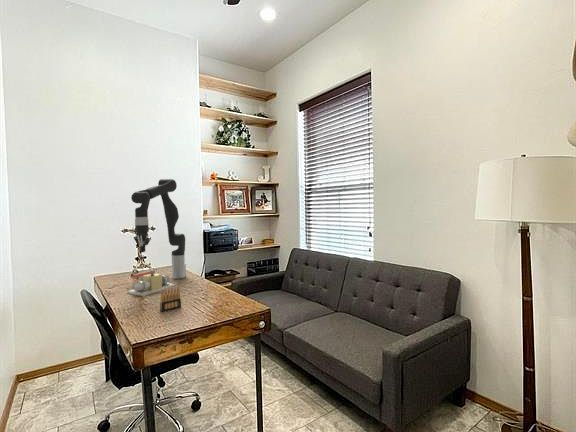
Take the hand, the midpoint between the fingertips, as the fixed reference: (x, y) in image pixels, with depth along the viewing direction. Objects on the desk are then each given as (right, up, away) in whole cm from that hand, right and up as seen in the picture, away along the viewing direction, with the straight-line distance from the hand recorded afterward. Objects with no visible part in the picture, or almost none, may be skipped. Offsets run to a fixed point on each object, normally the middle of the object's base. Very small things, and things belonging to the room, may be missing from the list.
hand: (142, 251), depth 199 cm
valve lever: (0, -15, +2) cm, 15 cm away
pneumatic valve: (-9, -25, +21) cm, 34 cm away
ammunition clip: (+29, -27, -32) cm, 51 cm away
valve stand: (+3, -25, +8) cm, 27 cm away
